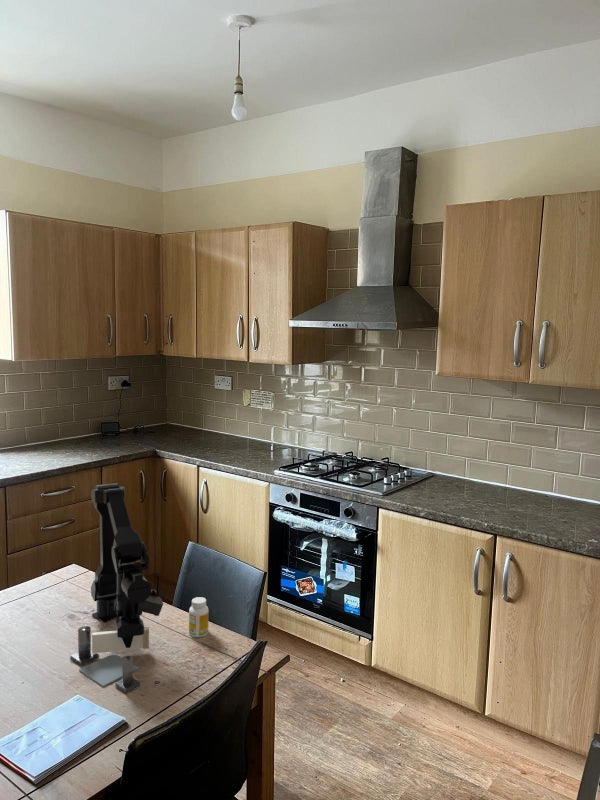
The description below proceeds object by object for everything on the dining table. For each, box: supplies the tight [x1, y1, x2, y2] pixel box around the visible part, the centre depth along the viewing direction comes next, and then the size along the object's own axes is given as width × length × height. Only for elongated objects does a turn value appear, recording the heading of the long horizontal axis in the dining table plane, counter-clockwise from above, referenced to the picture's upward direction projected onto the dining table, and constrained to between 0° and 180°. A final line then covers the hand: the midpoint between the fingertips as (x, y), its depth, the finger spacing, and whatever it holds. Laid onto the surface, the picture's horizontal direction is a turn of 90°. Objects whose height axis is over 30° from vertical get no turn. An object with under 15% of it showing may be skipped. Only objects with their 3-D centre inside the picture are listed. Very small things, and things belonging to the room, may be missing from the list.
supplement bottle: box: [188, 596, 210, 638], centre depth 168 cm, size 5×5×10 cm
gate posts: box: [69, 625, 141, 694], centre depth 148 cm, size 22×5×8 cm, turn 52°
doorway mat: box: [79, 653, 139, 688], centre depth 149 cm, size 10×10×1 cm
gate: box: [91, 626, 150, 654], centre depth 156 cm, size 14×2×5 cm, turn 105°
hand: (128, 647), depth 154 cm, fingers closed
